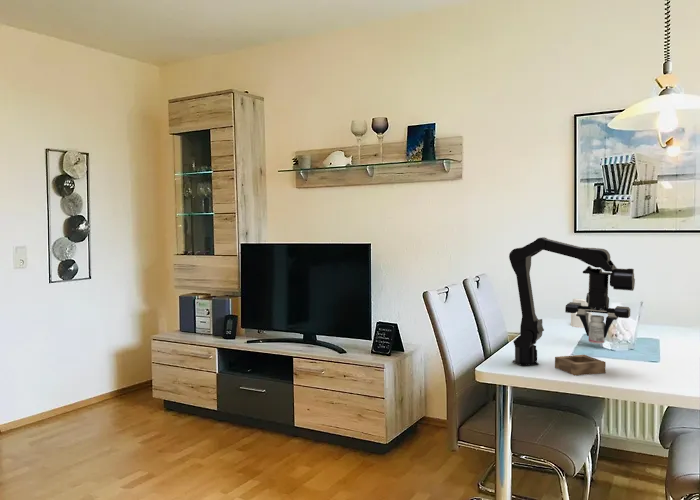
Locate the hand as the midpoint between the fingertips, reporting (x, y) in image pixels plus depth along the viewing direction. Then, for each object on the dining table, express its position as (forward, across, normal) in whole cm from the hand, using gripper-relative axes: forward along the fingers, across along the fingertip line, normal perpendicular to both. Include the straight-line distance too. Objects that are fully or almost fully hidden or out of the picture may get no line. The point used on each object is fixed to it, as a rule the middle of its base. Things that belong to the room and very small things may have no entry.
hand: (596, 336), depth 194 cm
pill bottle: (+2, 0, 0) cm, 2 cm away
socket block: (+12, +5, 0) cm, 12 cm away
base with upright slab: (+12, +19, -83) cm, 86 cm away
